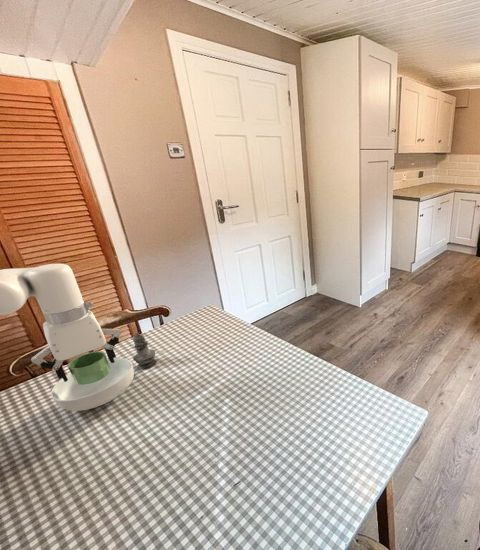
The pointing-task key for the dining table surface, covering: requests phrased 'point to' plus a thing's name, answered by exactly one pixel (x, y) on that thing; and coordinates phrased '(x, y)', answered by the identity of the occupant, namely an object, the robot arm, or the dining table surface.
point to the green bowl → (89, 367)
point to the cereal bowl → (94, 388)
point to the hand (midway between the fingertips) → (89, 369)
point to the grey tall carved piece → (143, 353)
